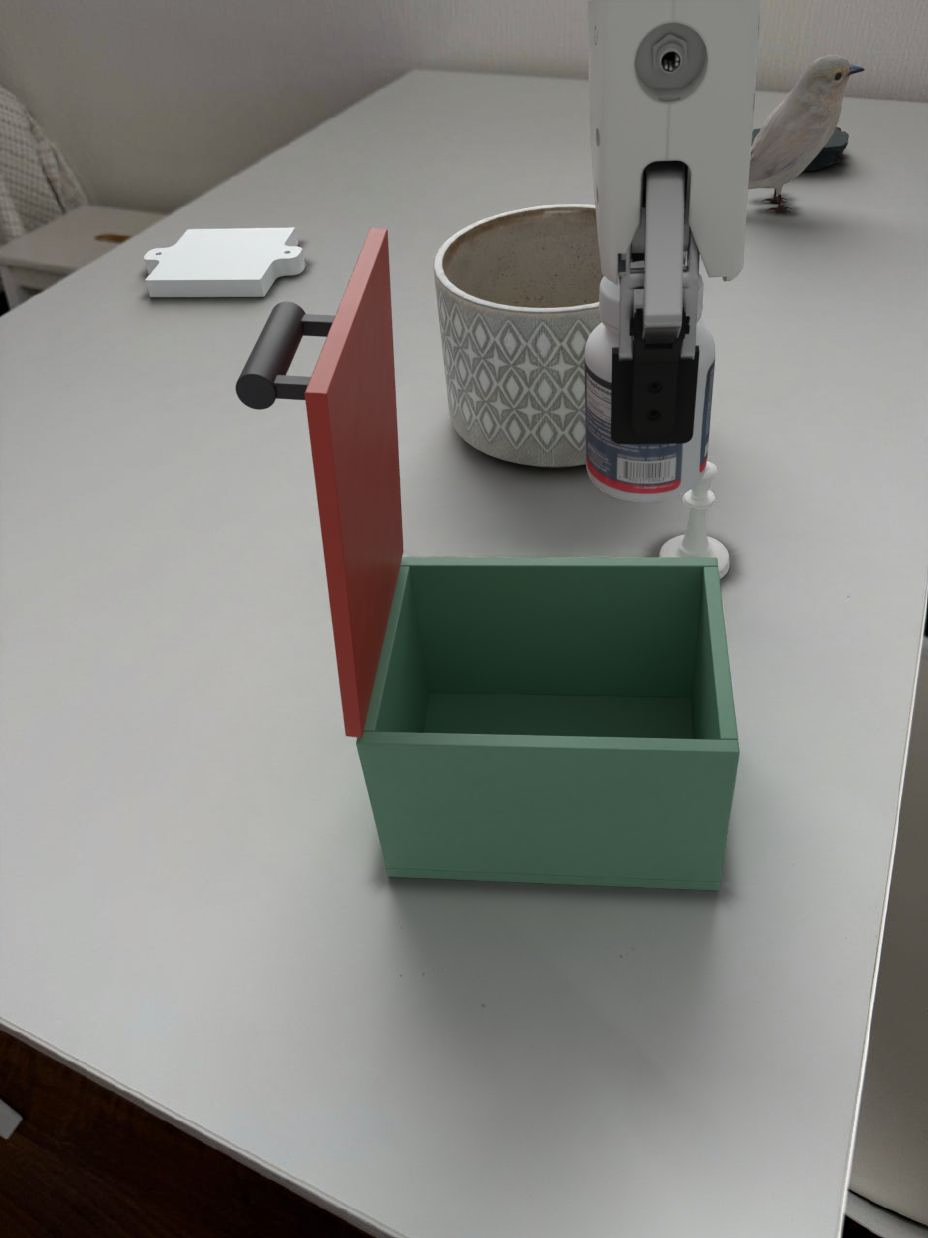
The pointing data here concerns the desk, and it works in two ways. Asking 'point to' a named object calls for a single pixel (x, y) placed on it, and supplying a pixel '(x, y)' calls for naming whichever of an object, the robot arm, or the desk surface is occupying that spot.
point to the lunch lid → (347, 456)
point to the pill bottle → (641, 465)
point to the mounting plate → (223, 262)
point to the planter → (520, 331)
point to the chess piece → (699, 526)
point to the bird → (799, 126)
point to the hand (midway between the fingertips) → (649, 394)
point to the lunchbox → (554, 722)
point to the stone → (824, 150)
